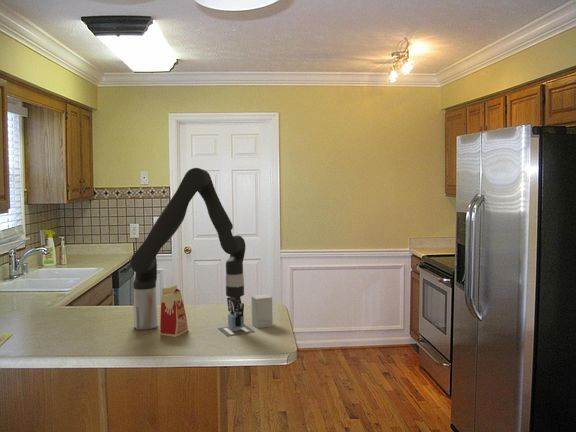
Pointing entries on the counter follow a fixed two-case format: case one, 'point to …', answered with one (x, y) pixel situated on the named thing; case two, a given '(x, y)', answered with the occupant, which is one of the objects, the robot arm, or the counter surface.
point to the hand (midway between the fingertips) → (235, 324)
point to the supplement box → (262, 311)
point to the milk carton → (172, 313)
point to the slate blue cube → (232, 321)
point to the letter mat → (235, 330)
